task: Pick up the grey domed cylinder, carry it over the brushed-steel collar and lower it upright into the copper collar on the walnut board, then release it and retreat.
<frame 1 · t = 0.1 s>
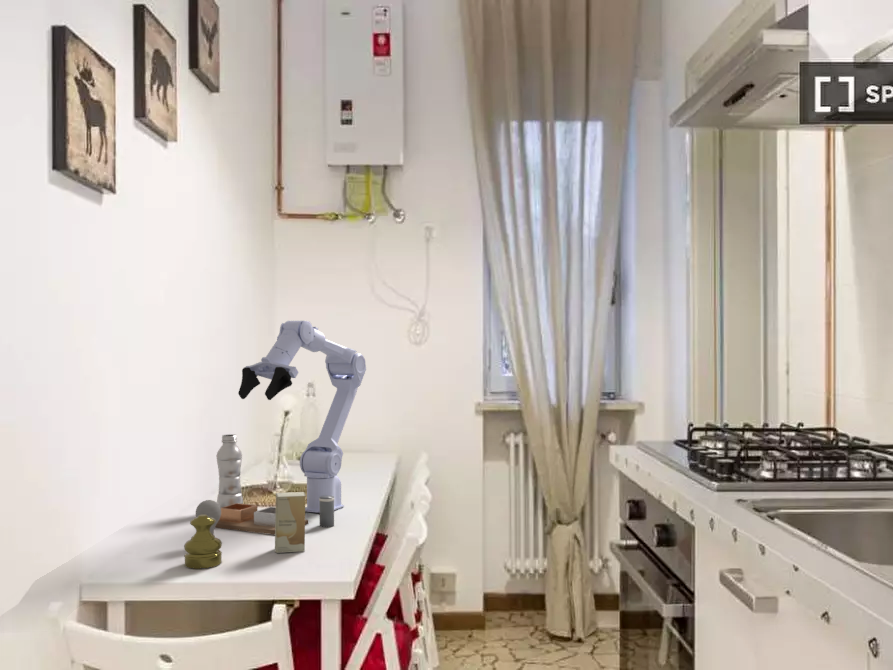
hand: (254, 396, 192), 32 cm above the table, tool tilted 50°, fingers open, 7 cm apart
walnut board: (256, 525, 201), on the table
copper collar: (238, 522, 204), resting on walnut board
steel collar: (273, 527, 199), resting on walnut board
plastic bottle: (230, 512, 217), on the table
light bulb: (208, 546, 183), on the table
grey domed cylinder: (326, 525, 200), on the table
skincare box: (290, 551, 178), on the table
gold chess piece: (203, 565, 168), on the table
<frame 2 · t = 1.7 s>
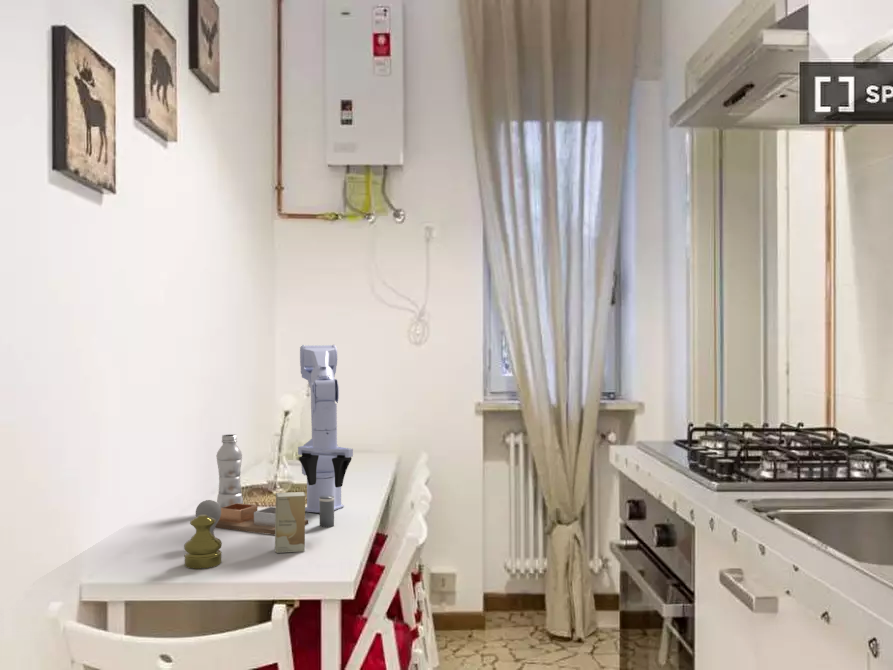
hand: (325, 485, 200), 10 cm above the table, tool pointing down, fingers open, 7 cm apart
nothing on the table moved.
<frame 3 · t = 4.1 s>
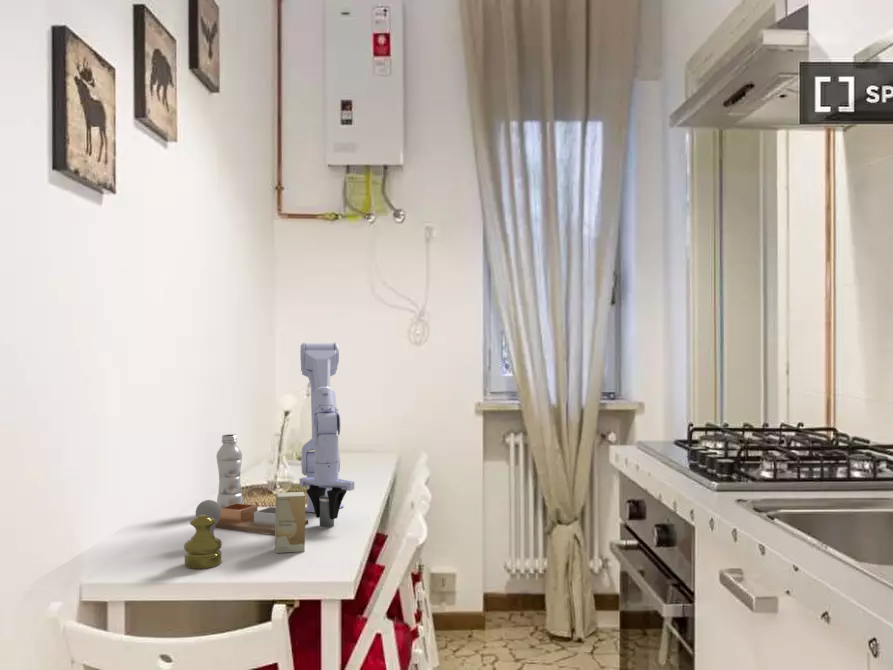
hand: (326, 517, 200), 2 cm above the table, tool pointing down, fingers closed on grey domed cylinder, 3 cm apart
grey domed cylinder: (326, 525, 200), on the table, touching gripper
everything else where it was.
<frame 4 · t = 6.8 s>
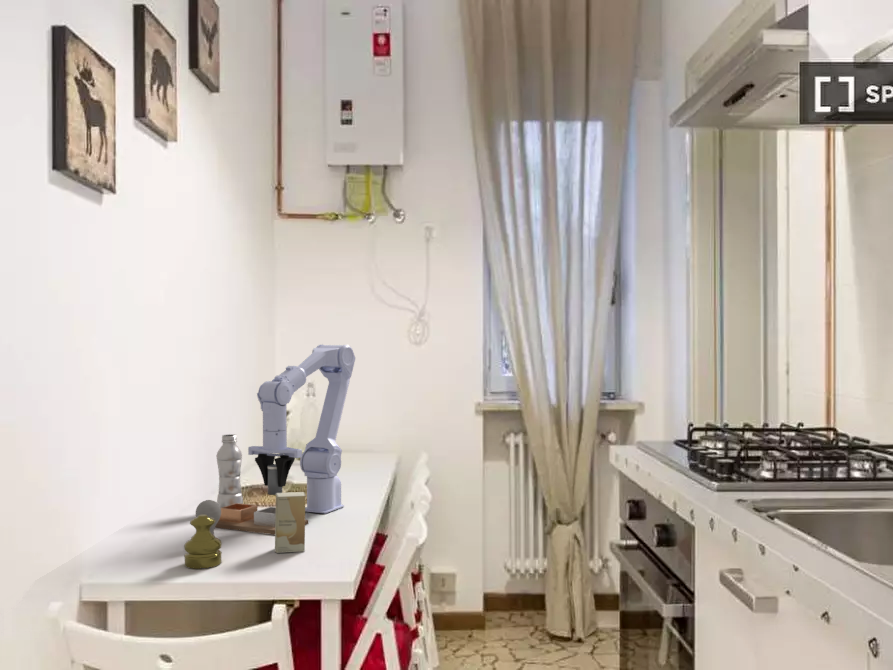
hand: (275, 485, 202), 9 cm above the table, tool pointing down, fingers closed on grey domed cylinder, 3 cm apart
grey domed cylinder: (275, 493, 202), point 8 cm above the table, touching gripper
everything else where it was.
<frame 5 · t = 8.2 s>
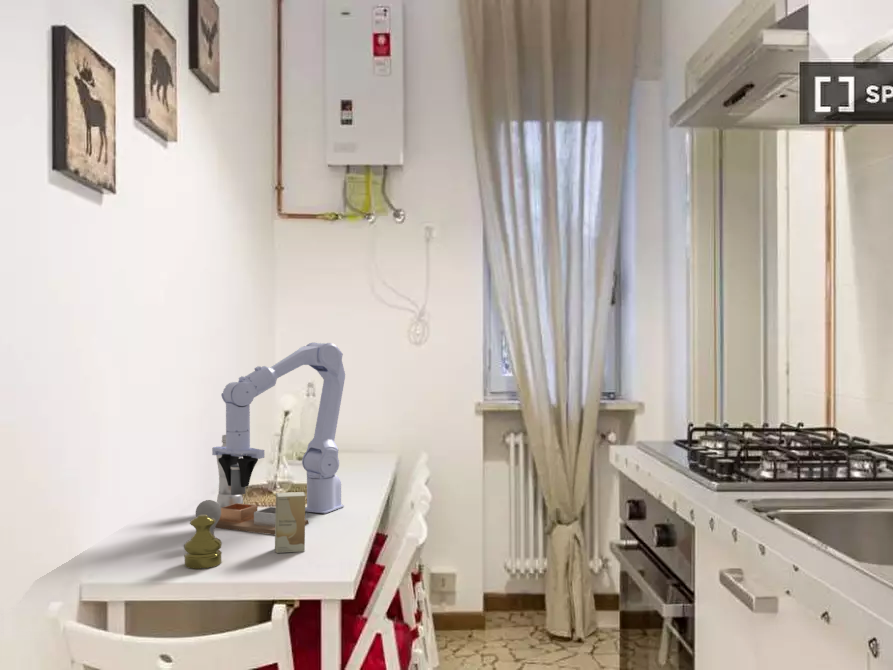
hand: (238, 485, 203), 9 cm above the table, tool pointing down, fingers closed on grey domed cylinder, 3 cm apart
grey domed cylinder: (238, 493, 203), point 7 cm above the table, touching gripper
everything else where it was.
when the fingers open (4 cm above the table, at t = 9.6 s): grey domed cylinder drops 1 cm, resting on walnut board.
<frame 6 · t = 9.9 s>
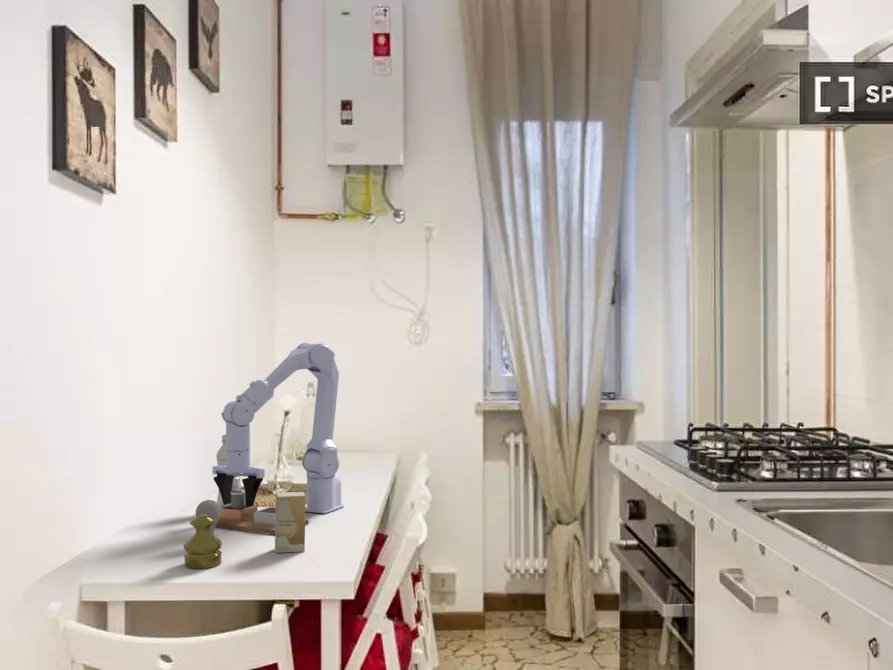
hand: (238, 505, 203), 4 cm above the table, tool pointing down, fingers open, 6 cm apart
grey domed cylinder: (238, 518, 203), point 1 cm above the table, touching walnut board
everything else where it was.
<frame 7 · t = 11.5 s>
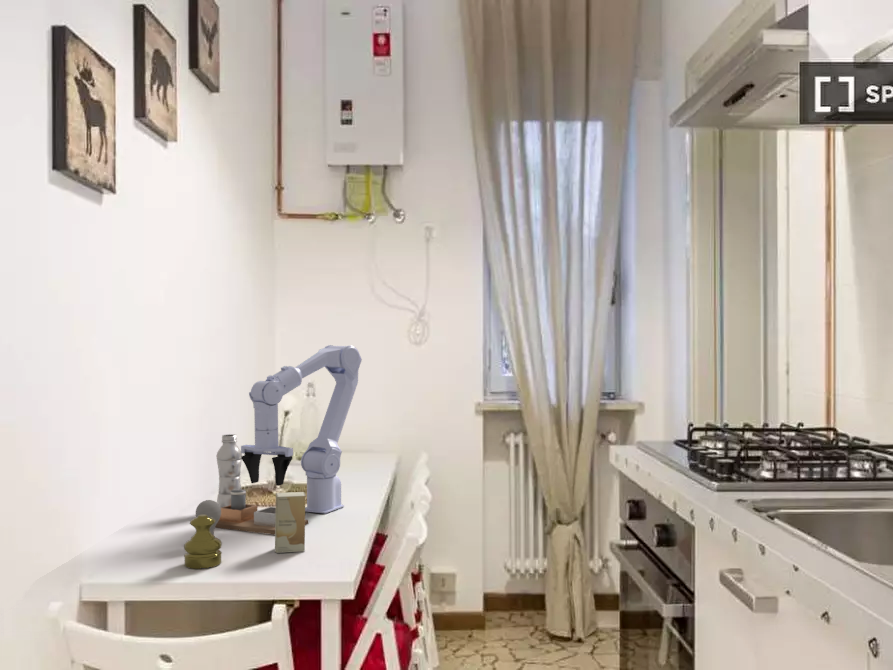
hand: (267, 483, 205), 9 cm above the table, tool pointing down, fingers open, 7 cm apart
nothing on the table moved.
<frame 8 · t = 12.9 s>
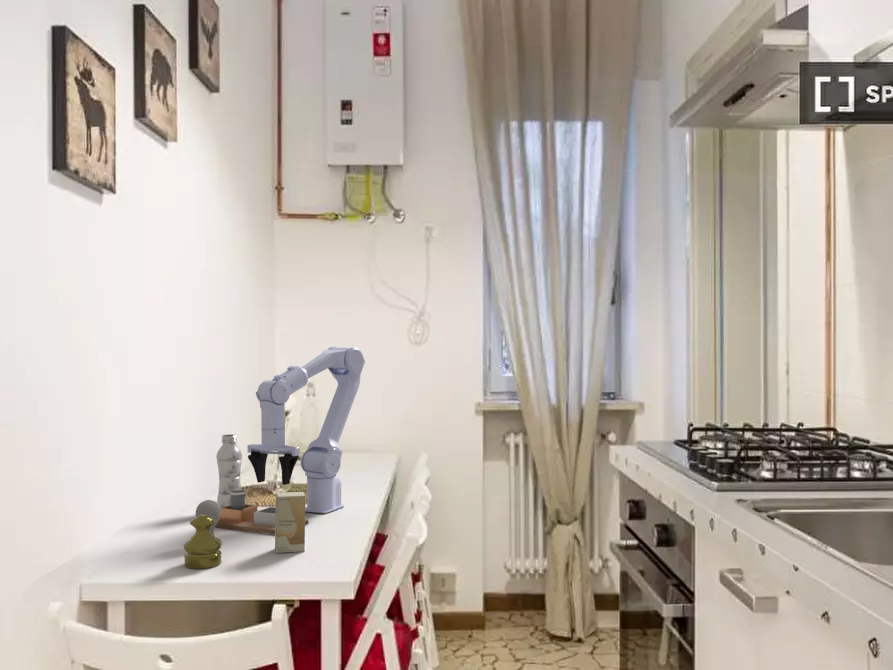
hand: (273, 483, 206), 9 cm above the table, tool pointing down, fingers open, 7 cm apart
nothing on the table moved.
at the end: grey domed cylinder 0.1 cm off-centre on the copper collar, point 1.0 cm above the copper collar's base; grey domed cylinder tilted 1°; the gripper is holding nothing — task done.
